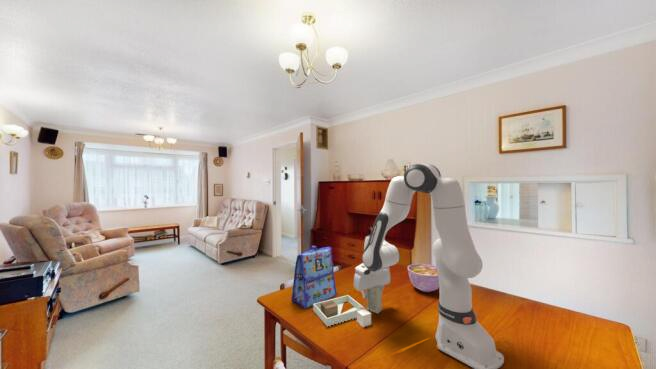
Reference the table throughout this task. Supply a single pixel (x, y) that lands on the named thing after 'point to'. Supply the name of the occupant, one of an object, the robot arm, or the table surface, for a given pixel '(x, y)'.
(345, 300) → the tray
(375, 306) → the skincare box
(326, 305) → the walnut block
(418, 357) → the table surface
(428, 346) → the table surface
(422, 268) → the bowl of food
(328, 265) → the lunch bag
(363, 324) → the cream cube
